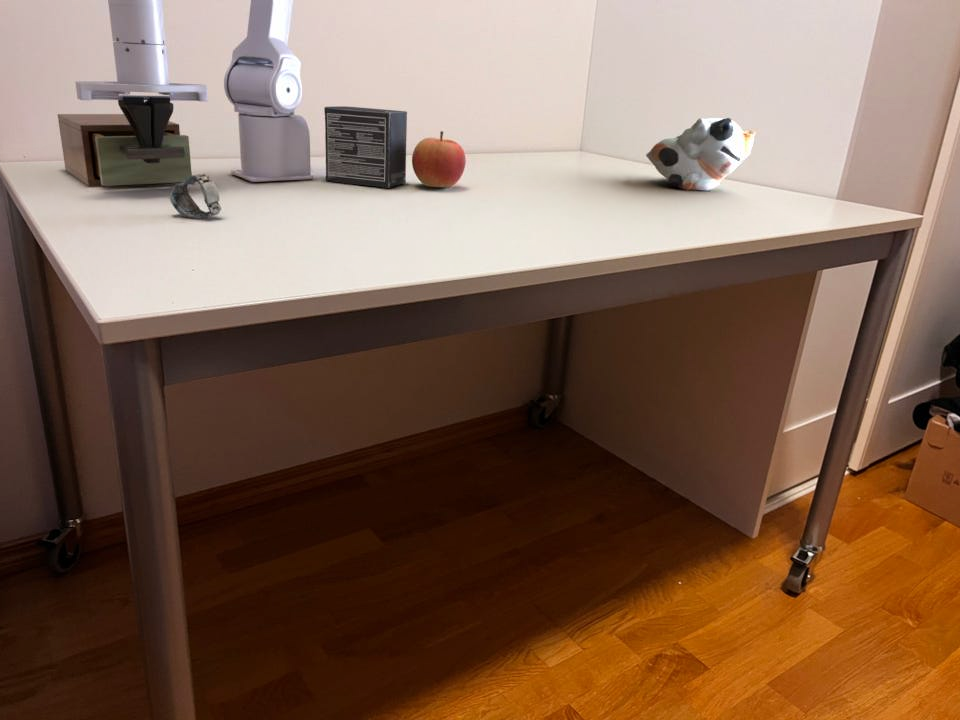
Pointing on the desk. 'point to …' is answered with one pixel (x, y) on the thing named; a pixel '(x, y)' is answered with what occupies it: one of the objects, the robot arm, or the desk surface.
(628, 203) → the desk surface
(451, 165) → the apple
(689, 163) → the lucky cat figurine
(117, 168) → the drawer
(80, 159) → the cabinet
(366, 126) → the small box
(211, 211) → the wristwatch
